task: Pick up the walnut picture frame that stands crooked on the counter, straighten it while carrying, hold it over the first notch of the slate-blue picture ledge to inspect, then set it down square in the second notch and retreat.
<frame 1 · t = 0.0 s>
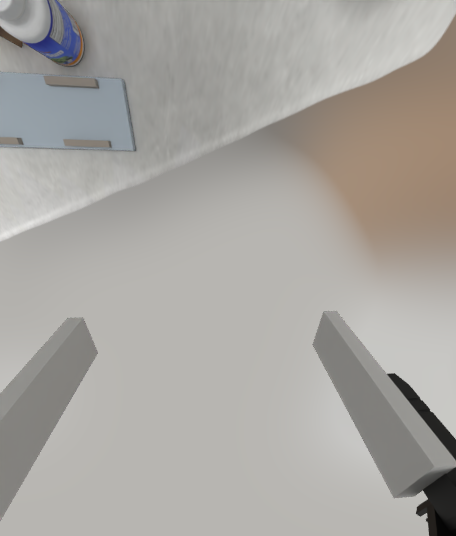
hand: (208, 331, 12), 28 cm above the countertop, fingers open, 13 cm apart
ledge: (40, 114, 28), on the countertop
pill bottle: (62, 38, 25), on the countertop
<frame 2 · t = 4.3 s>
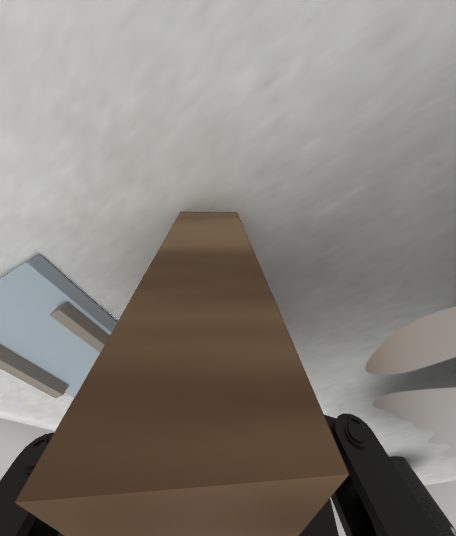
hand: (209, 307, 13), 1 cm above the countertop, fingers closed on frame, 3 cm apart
ledge: (127, 379, 18), on the countertop
coffee cup: (383, 463, 33), on the countertop
frame: (210, 296, 14), on the countertop, touching gripper
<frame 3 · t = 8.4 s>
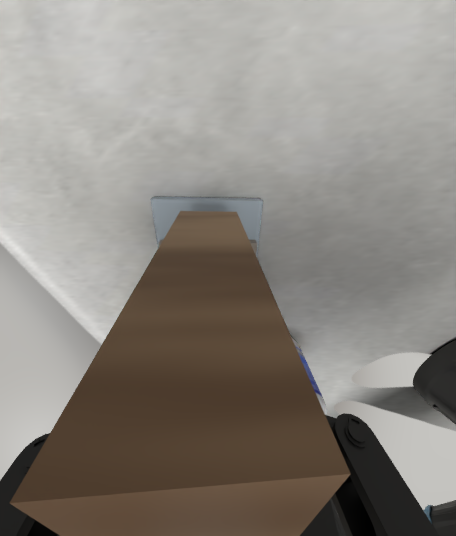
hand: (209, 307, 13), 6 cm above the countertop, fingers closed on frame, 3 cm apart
ledge: (210, 317, 21), on the countertop
pill bottle: (275, 348, 25), on the countertop
frame: (210, 296, 14), point 4 cm above the countertop, touching gripper
when the fingers open (4 cm above the countertop, at t = 12.6 s): frame drops 2 cm, resting on ledge.
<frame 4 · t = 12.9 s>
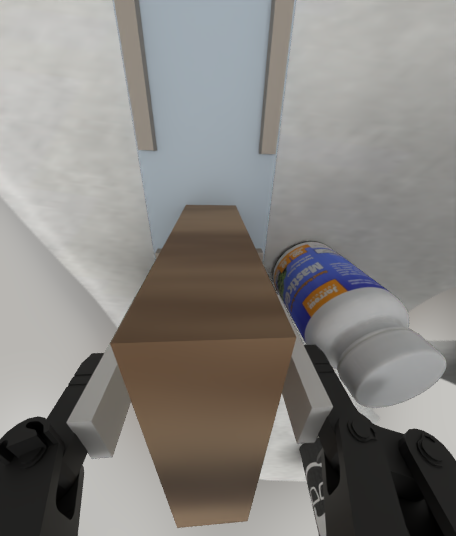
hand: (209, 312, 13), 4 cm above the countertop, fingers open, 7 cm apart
ledge: (209, 202, 14), on the countertop
coffee cup: (317, 445, 35), on the countertop
pill bottle: (301, 269, 17), on the countertop, touching gripper
frame: (212, 283, 16), point 1 cm above the countertop, touching ledge
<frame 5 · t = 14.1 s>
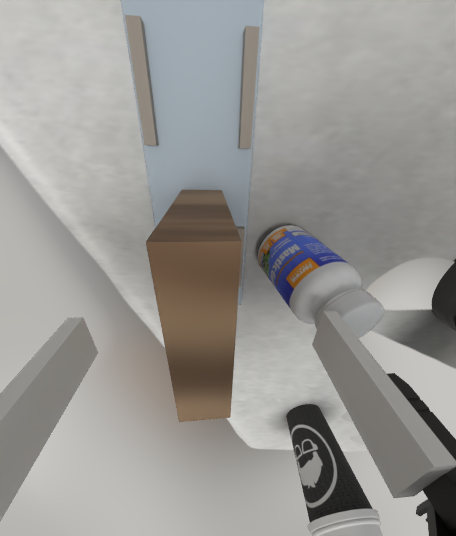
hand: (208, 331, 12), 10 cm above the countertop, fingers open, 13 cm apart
ledge: (201, 188, 17), on the countertop
coffee cup: (302, 412, 39), on the countertop
pill bottle: (280, 248, 20), on the countertop, touching gripper
frame: (204, 256, 19), point 1 cm above the countertop, touching ledge
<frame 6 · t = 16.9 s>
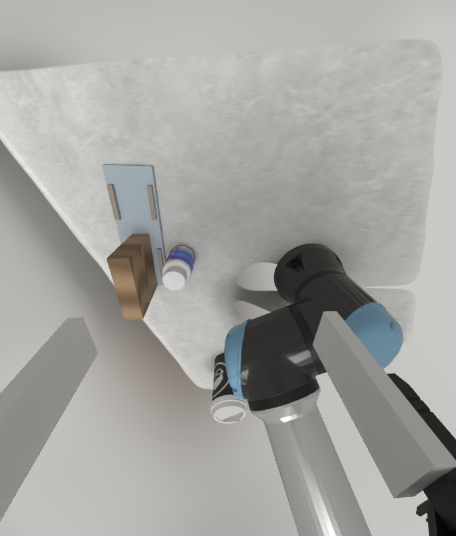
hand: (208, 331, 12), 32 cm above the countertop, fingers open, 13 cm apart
ledge: (141, 232, 41), on the countertop
coffee cup: (225, 359, 62), on the countertop
pill bottle: (182, 256, 44), on the countertop
frame: (145, 261, 43), point 1 cm above the countertop, touching ledge
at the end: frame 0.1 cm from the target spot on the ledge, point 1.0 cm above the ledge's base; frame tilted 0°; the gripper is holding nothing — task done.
